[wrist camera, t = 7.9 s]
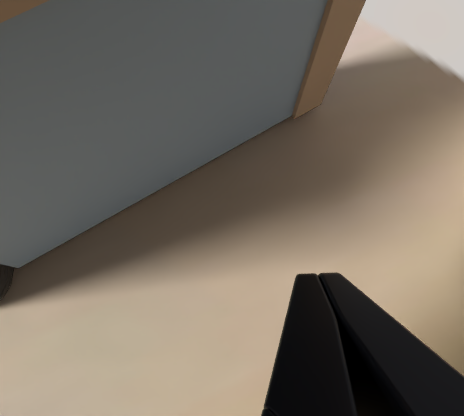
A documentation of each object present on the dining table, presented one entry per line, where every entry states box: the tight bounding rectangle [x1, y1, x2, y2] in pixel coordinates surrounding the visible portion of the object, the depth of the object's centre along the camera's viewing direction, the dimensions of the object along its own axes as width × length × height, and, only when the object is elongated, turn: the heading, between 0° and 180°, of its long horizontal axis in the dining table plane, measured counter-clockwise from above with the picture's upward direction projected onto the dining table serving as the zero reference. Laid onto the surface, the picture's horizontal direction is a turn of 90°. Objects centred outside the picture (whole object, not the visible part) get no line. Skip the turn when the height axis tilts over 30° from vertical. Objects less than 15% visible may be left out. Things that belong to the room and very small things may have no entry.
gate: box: [0, 0, 366, 268], centre depth 11 cm, size 14×2×12 cm, turn 121°
